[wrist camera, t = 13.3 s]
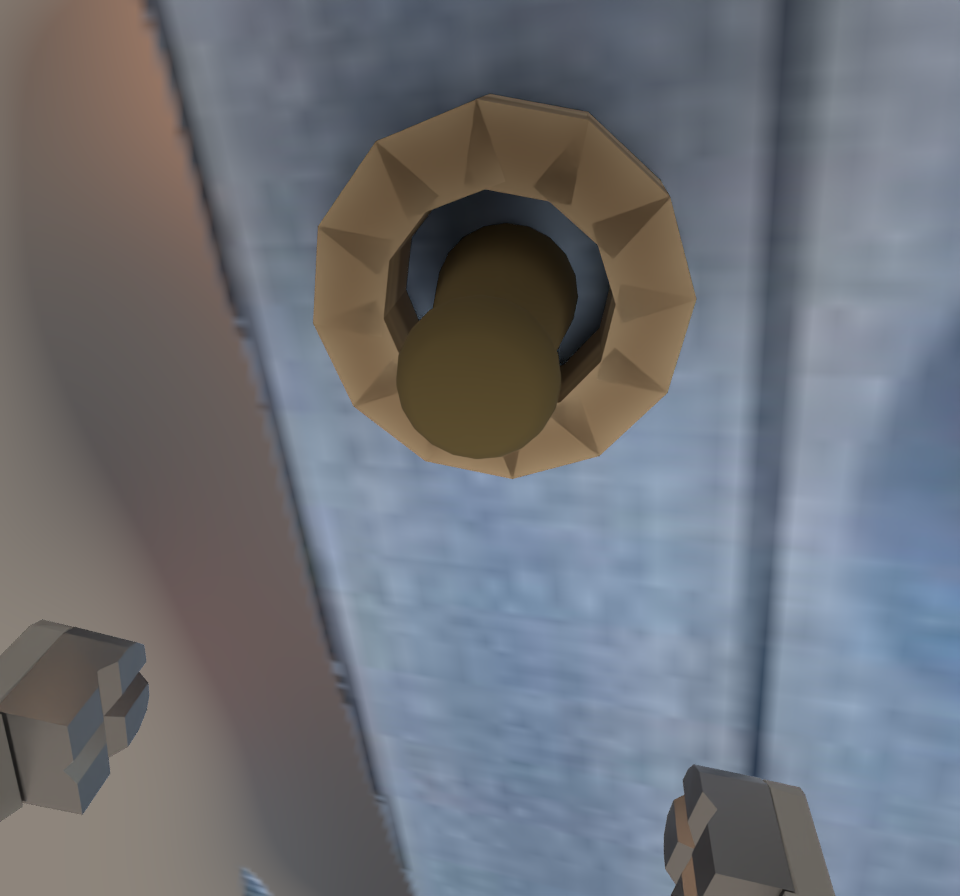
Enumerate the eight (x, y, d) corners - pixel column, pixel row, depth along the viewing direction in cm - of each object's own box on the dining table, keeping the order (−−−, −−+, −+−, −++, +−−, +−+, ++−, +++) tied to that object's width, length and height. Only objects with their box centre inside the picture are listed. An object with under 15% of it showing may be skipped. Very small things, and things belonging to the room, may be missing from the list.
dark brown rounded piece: (421, 336, 33) (352, 453, 23) (458, 202, 30) (397, 272, 20) (549, 379, 33) (534, 513, 23) (599, 250, 30) (605, 342, 20)
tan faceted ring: (358, 69, 28) (325, 70, 24) (723, 136, 27) (743, 147, 24) (335, 398, 35) (307, 437, 31) (628, 457, 34) (633, 503, 31)
